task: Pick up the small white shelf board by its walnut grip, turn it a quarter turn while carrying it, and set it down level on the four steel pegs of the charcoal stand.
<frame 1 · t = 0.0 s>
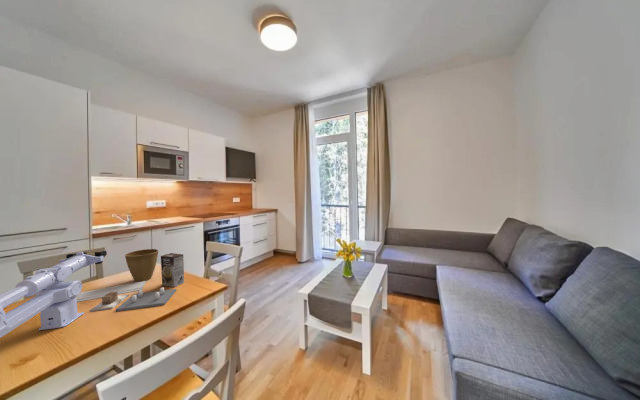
hand: (95, 253, 104), 22 cm above the table, tool horizontal, fingers open, 7 cm apart
peg stand: (149, 300, 102), on the table
baseboard molding: (104, 295, 109), on the table
coffee box: (173, 284, 119), on the table
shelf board: (110, 304, 99), on the table
plant pot: (143, 279, 126), on the table
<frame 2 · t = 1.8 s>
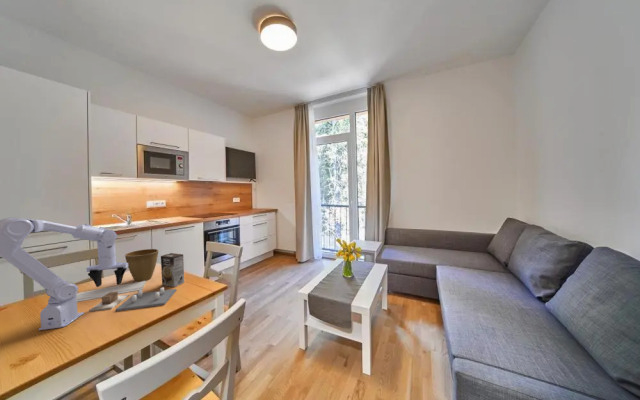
hand: (109, 284, 99), 9 cm above the table, tool pointing down, fingers open, 7 cm apart
nothing on the table moved.
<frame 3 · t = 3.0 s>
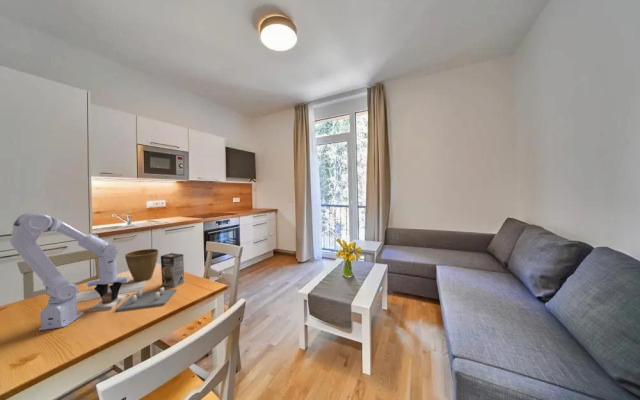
hand: (110, 299, 99), 2 cm above the table, tool pointing down, fingers closed on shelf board, 3 cm apart
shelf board: (110, 303, 99), on the table, touching gripper
everything else where it was.
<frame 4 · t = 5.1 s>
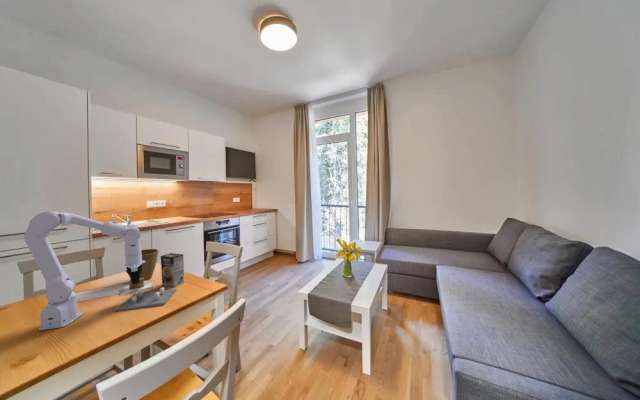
hand: (135, 282, 100), 9 cm above the table, tool pointing down, fingers closed on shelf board, 3 cm apart
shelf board: (136, 289, 101), point 5 cm above the table, touching gripper
everything else where it was.
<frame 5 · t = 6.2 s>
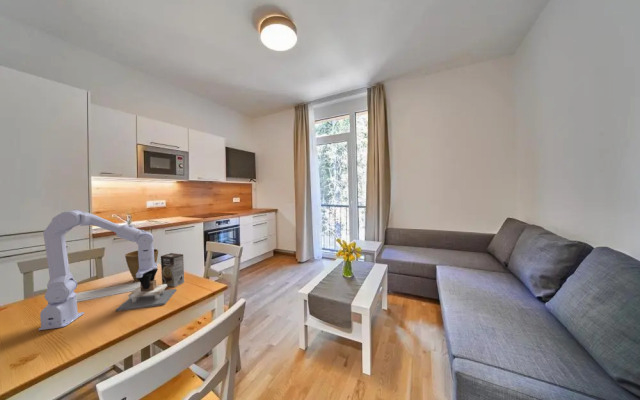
hand: (148, 286, 101), 6 cm above the table, tool pointing down, fingers closed on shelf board, 3 cm apart
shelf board: (148, 291, 101), point 4 cm above the table, touching gripper, peg stand
everything else where it was.
when the fingers open (6 cm above the table, at t = 6.9 s): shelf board stays where it is, resting on peg stand.
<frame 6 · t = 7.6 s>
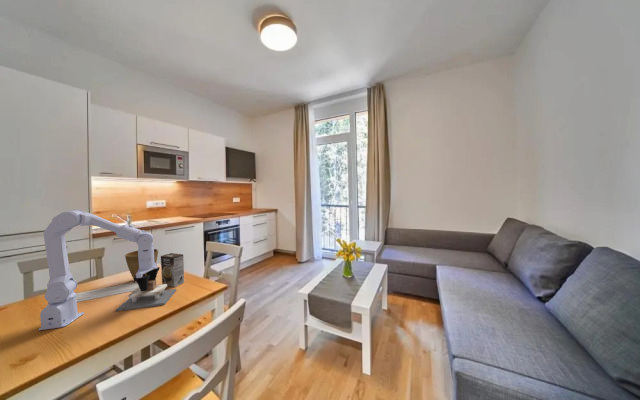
hand: (148, 287, 101), 6 cm above the table, tool pointing down, fingers open, 7 cm apart
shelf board: (148, 291, 101), point 4 cm above the table, touching peg stand
everything else where it was.
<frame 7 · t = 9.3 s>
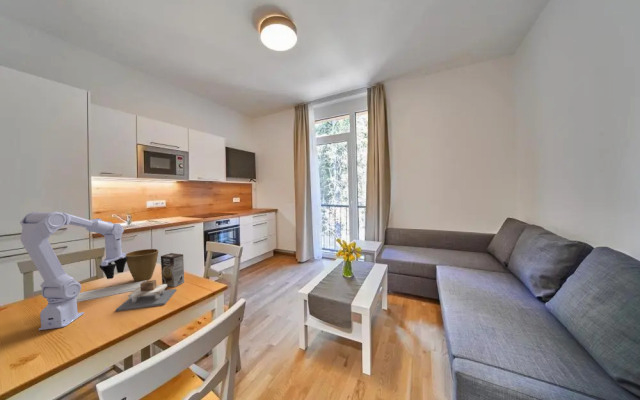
hand: (115, 275, 106), 10 cm above the table, tool pointing down, fingers open, 7 cm apart
nothing on the table moved.
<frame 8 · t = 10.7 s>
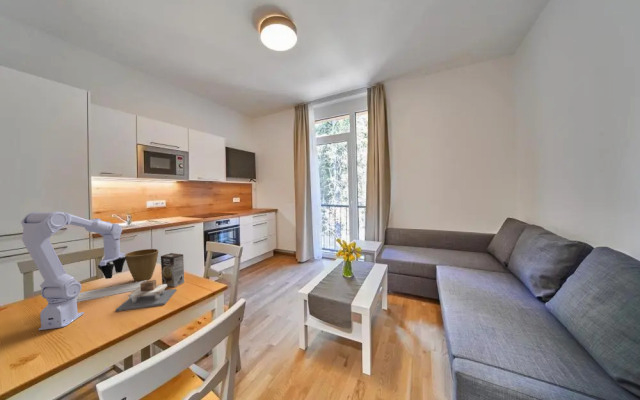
hand: (114, 275, 107), 10 cm above the table, tool pointing down, fingers open, 7 cm apart
nothing on the table moved.
at the end: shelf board 0.2 cm off-centre on the peg stand, point 4.0 cm above the peg stand's base; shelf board tilted 0°; the gripper is holding nothing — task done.
